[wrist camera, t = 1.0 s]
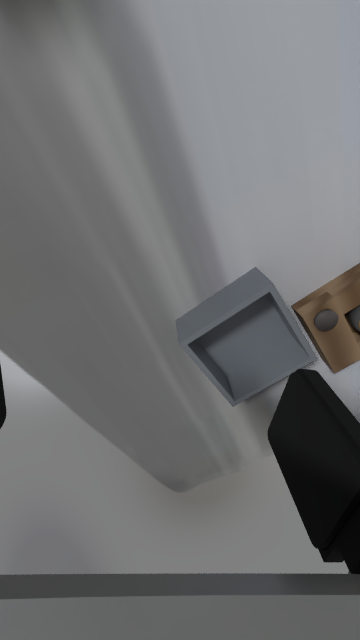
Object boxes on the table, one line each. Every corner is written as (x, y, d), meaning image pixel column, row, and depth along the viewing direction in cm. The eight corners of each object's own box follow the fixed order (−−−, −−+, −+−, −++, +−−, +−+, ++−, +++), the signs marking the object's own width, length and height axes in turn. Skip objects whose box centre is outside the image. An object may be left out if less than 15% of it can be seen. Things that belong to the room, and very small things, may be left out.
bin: (255, 267, 37) (272, 282, 31) (296, 334, 42) (317, 358, 36) (175, 320, 39) (178, 343, 34) (223, 378, 44) (232, 406, 39)
